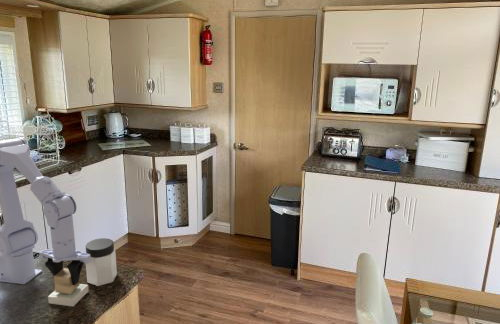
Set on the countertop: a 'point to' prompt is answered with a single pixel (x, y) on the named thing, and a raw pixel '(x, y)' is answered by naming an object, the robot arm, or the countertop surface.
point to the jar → (101, 262)
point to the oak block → (64, 282)
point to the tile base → (68, 296)
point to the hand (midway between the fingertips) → (67, 282)
